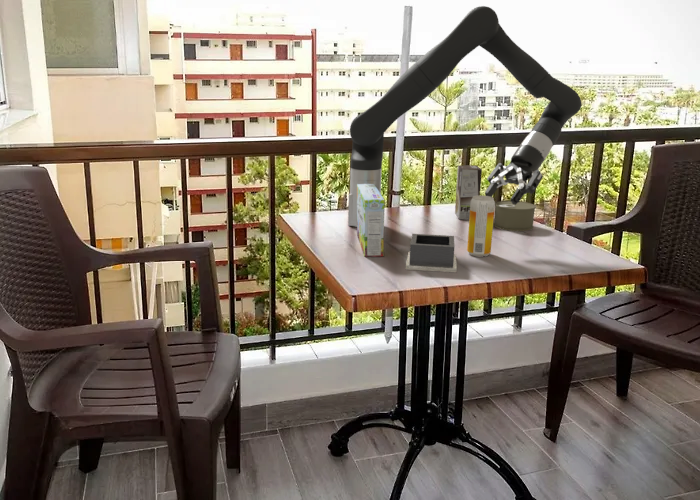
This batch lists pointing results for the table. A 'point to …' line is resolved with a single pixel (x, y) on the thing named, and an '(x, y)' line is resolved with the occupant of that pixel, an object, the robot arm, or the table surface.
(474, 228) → the beer can
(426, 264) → the can holder
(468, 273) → the table surface
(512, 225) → the grey round container
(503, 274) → the table surface
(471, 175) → the coffee box
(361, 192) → the snack box
